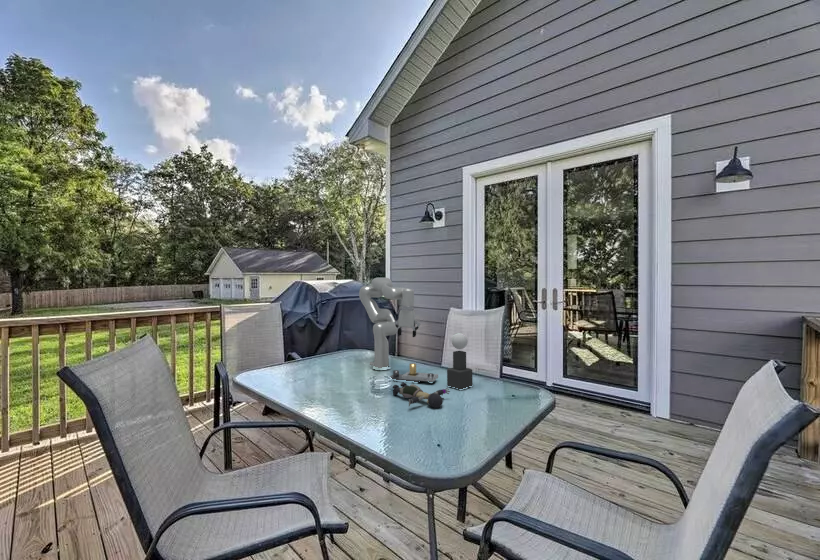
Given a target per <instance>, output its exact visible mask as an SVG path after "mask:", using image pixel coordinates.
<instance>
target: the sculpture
mask: <svg viewBox="0 0 820 560" xmlns="http://www.w3.org/2000/svg"><path fill="white" fill-rule="evenodd" d="M451 344H452V347H454V349H456V350H455V351H453V352H452V367H451V368H450V367H449V368H447V369H446V386H447V385H448V386H451V387H455V388H458V389H463V388H466V387H469V386H472V385H474V384H473V383H474V382H473V381H474V380H473V369H472V368H468V367H467V352H466V351H462V349H464V348H466V347H467V345H468V338H467V336H466V335H465V334H464V333H462V332H458V333H455V334H453V336H452V337H451Z"/></svg>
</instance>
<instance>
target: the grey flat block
mask: <svg viewBox="0 0 820 560" xmlns="http://www.w3.org/2000/svg"><path fill="white" fill-rule="evenodd" d="M389 377H391V378H392V379H396V380H406V381H414V382H419V381H421V382H428V381H429V382H433V381H434V382H435V381H436V380H437V379H438V378H439V374H438V373H434V372H432V373H429V372H417V371H416V376H414V375H410V371H407V372H405V373H403V374H402V373H400V370H397V369H395V370H392V374H391V375H390V376H389Z"/></svg>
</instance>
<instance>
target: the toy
mask: <svg viewBox="0 0 820 560" xmlns="http://www.w3.org/2000/svg"><path fill="white" fill-rule="evenodd" d="M450 392H451V391H450V388H449V387H447V386H446V388H442V389H438V390H436V391H434V392H432V393H429V392H425V391H423V390H422V388H421V387H420V386H418V385H417V384H414V383H410V385H408V383H404V382H401V383H400V385H397V384H394V385H392V395H393V396H394V395H398V394H399V395H402V398H404V399H406V398H407V399H408V407H410V406H411V405H412V404H413V405H414V404H417V403H419V401H422V400H426V404H428V405H429V406H430V407H432V408H433V409H439V408H440V407H442V405H443V402H444V400H445V398H444V397H442V396H443V395H444V394H447V395H449V394H450Z"/></svg>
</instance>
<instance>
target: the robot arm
mask: <svg viewBox="0 0 820 560" xmlns="http://www.w3.org/2000/svg"><path fill="white" fill-rule="evenodd" d="M358 297H359V300H360V302H361V304H362V305H363V306H364V308H365V311H366V312H367V315H368V317H369V319H370V321H371V322H372V323H373V326H372V333H373V338H374V361H369V366H372V367H373V366H375V367H378V368H382V367H387V366H390V365H389V363H390V362H389V359H390V357H389V354H390V353H389V352H390V351H389V350H390V349H389V346H390V345H389V343H390V342H389V340H388V339H387V337H388V336H395V335H396V334H397V336H399V337H400V336H402V328H411V329H412V338H415V337H416V336H417V330H418V329H419V328H420V326H421V323H420V322H419V321H417V320H416V319H417V318H416V313H415V310H414V309H415V308H414V307H415V306H414V304H415V290H414V288H407V287H394V286H393V282H392V280H391V278H389V277H375V278H373V279H372V280H371V282H370V285H363V286H362V287H360V289H359V293H358ZM381 297H383V298H386V299H387V300H392V301H395V300H401V305H400V306H399V309H400V311H399V315H398V319H397V320H395V319H396V318H394V315H393V314H392V312H391V310H390V309H389V308H380V307H379V306H378V304H377V302H376V301H375V300H374V299H373V298H381Z"/></svg>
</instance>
